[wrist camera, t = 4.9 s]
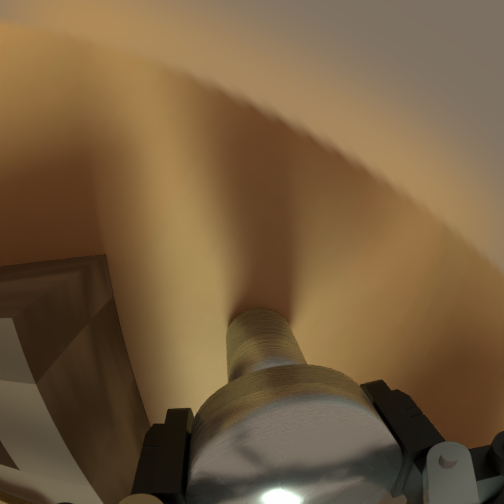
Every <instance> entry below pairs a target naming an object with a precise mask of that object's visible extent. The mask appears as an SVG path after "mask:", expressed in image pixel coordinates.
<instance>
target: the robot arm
mask: <svg viewBox="0 0 504 504" xmlns="http://www.w3.org/2000/svg"><path fill="white" fill-rule="evenodd" d="M360 387H361V388H362V390H363V391H364V392H365V394H366V396H367V397H368V399H369V400H370V402H371V403H372V405H373V406H374V408H375V409H376V411H377V412H378V414H379V415H380V417H381V419H382V420H383V422H384V423H385V425H386V426H387V428H388V429H389V431H390V432H391V434H392V435H393V437H394V439H395V440H396V442H397V443H398V445H399V447H400V449H401V451H402V456H403V462H402V465H401V468H400V470H399V473H398V476H397V478H396V481H395V484H394V485H393V487H392V488H391V489H390V491H389V492H390V494H391V496H392V498H395V497H398V496H401V495H405V497H406V499H407V502H406V504H504V431H502V432H500V433H498V434H497V435H496V436H495V438H494V440H493V442H492V444H491V445H487V446H483V447H478V448H473V449H467V448H466V447H465V446H464V445H462V444H460V443H457V442H452V441H445V440H444V438H443V437H442V436H441V435H440V433H439V432H438V431H437V430H436V428H435V427H434V426H433V425H432V423H431V422H430V421H429V420H428V418H427V417H426V416H425V415H423V412H422V411H421V410H420V409H419V407H417V405H416V404H415V402H414V401H413V400H412V399H411V398H410V396H408V395H407V394H405V393H403V392H401V391H399V390H398V389H397V390H394V391H391V390H390V388H389V387H388V386H387V384H386V383H385V382H384V381H383V380H377V381H373V382H368V383H364V384H361V385H360ZM193 420H194V416H193V413H192V410H191V408H175V409H168V410H167V414H166V419H165V424H153V426H152V427H151V428H150V429H149V430H148V431H147V433H146V434H145V437H144V441H143V445H142V446H143V448H142V449H141V453H140V458H139V461H138V465H137V470H136V474H135V478H134V482H133V487H132V491H131V494H130V496H128V497H126V498H124V499H123V500H121V501H120V502H119V504H187V502H186V483H187V470H188V458H189V446H190V435H191V428H192V423H193ZM58 504H73V503H68V502H63V503H58Z"/></svg>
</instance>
